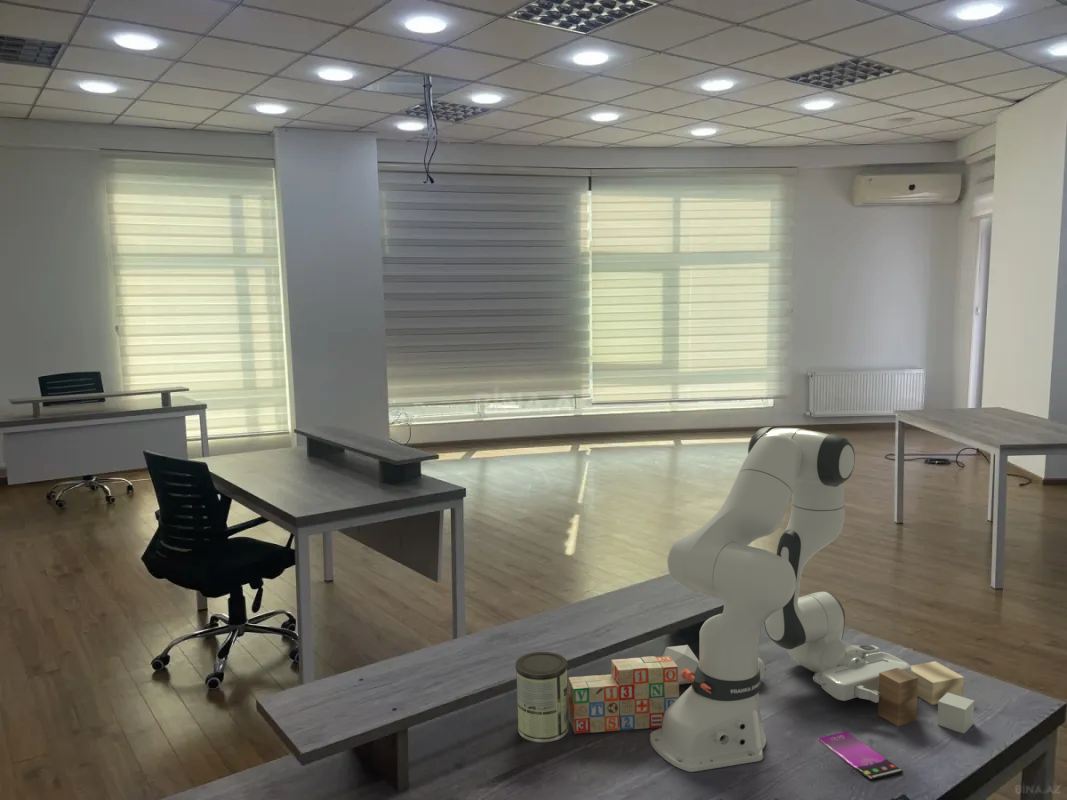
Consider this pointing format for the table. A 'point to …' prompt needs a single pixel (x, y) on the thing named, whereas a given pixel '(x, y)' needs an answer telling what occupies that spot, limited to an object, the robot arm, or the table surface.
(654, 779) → the table surface
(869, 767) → the smartphone
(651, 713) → the stack of blocks
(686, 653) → the white polyhedron
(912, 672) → the oak block
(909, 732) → the table surface
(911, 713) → the walnut block
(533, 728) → the coffee can
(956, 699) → the grey cube
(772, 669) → the table surface
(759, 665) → the white sphere
